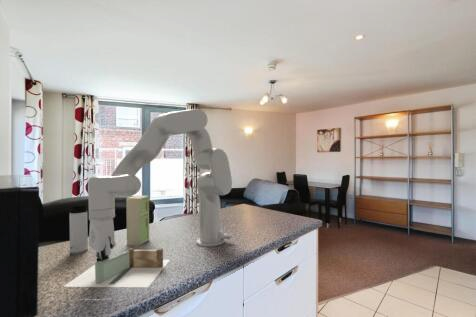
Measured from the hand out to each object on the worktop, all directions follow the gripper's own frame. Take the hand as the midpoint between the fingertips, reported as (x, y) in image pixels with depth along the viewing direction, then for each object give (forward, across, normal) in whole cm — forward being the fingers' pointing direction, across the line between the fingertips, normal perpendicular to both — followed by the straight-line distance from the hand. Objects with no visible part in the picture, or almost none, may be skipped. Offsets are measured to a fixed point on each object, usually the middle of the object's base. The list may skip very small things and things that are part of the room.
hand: (103, 269), depth 81 cm
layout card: (+2, +2, +5) cm, 6 cm away
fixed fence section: (+2, +4, +12) cm, 13 cm away
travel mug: (+2, -31, +1) cm, 31 cm away
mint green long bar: (+2, +3, +2) cm, 4 cm away
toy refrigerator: (+2, -23, +23) cm, 33 cm away
